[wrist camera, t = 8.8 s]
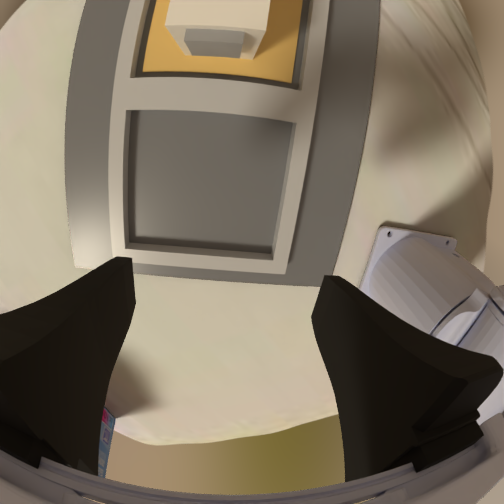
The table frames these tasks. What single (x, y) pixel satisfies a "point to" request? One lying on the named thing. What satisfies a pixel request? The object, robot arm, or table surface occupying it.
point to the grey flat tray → (217, 142)
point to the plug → (218, 26)
